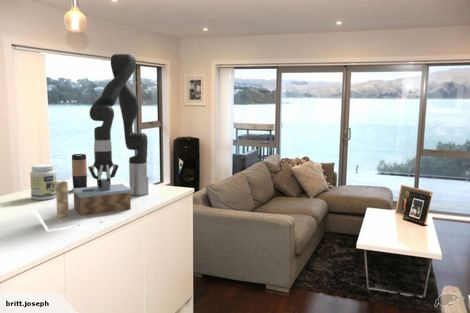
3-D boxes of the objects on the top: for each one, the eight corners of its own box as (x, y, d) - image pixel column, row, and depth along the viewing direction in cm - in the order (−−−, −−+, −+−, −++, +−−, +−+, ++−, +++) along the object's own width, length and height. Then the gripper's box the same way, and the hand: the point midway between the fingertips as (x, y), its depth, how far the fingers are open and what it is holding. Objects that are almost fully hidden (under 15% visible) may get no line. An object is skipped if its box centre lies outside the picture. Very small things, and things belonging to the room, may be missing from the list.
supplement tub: (47, 201, 212) (45, 167, 209) (25, 199, 214) (24, 166, 212) (62, 195, 224) (60, 164, 221) (41, 194, 226) (39, 163, 224)
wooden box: (121, 204, 207) (120, 186, 206) (130, 211, 195) (130, 192, 194) (74, 210, 195) (73, 191, 194) (81, 217, 184) (80, 197, 182)
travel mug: (90, 189, 240) (89, 154, 237) (81, 192, 233) (80, 156, 230) (79, 188, 243) (77, 153, 240) (69, 190, 235) (68, 155, 233)
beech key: (67, 217, 184) (65, 181, 182) (69, 219, 181) (67, 182, 179) (57, 218, 182) (55, 181, 180) (59, 220, 179) (57, 183, 177)
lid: (121, 186, 207) (121, 175, 206) (131, 192, 194) (131, 181, 193) (72, 191, 194) (71, 180, 194) (79, 197, 182) (79, 186, 181)
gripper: (89, 151, 185) (90, 190, 188) (120, 149, 193) (121, 187, 195) (85, 149, 192) (86, 187, 194) (115, 148, 199) (116, 184, 201)
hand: (104, 186), depth 194 cm, fingers closed on lid, 3 cm apart
